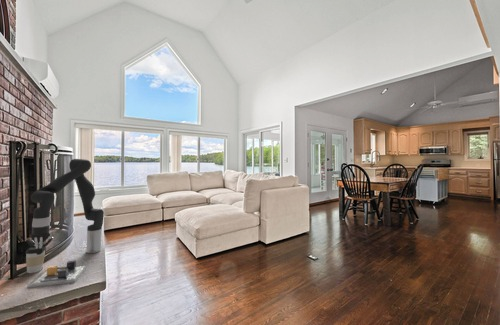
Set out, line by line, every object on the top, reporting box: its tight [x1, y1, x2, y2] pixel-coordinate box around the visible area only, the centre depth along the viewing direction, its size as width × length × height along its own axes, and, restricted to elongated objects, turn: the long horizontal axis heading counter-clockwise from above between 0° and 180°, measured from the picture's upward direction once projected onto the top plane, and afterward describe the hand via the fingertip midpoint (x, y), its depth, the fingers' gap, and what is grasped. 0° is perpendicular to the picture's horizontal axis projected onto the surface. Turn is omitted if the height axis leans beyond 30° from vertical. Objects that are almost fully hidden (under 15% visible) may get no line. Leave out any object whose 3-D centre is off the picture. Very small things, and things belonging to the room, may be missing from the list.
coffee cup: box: [25, 246, 46, 274], centre depth 137 cm, size 9×9×15 cm
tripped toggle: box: [46, 264, 58, 275], centre depth 129 cm, size 2×4×5 cm, turn 109°
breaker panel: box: [26, 260, 87, 288], centre depth 131 cm, size 16×22×7 cm
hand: (39, 254), depth 127 cm, fingers closed
